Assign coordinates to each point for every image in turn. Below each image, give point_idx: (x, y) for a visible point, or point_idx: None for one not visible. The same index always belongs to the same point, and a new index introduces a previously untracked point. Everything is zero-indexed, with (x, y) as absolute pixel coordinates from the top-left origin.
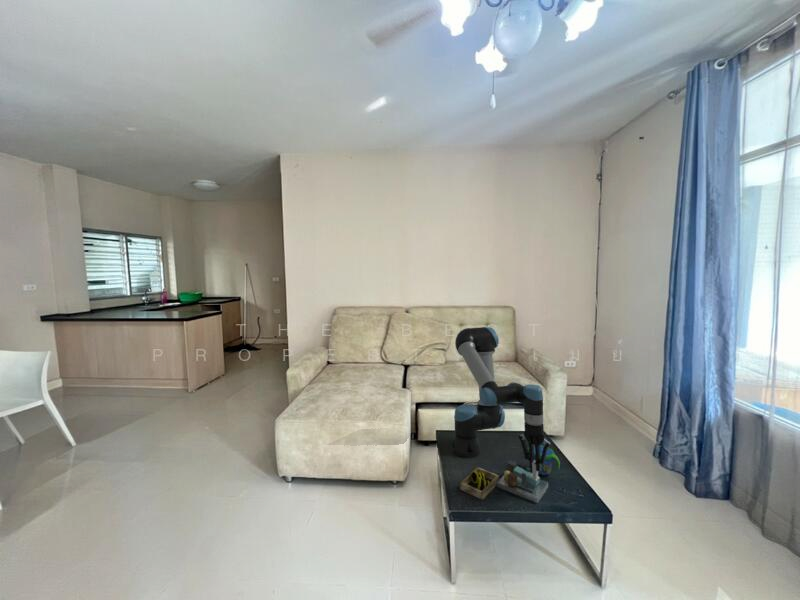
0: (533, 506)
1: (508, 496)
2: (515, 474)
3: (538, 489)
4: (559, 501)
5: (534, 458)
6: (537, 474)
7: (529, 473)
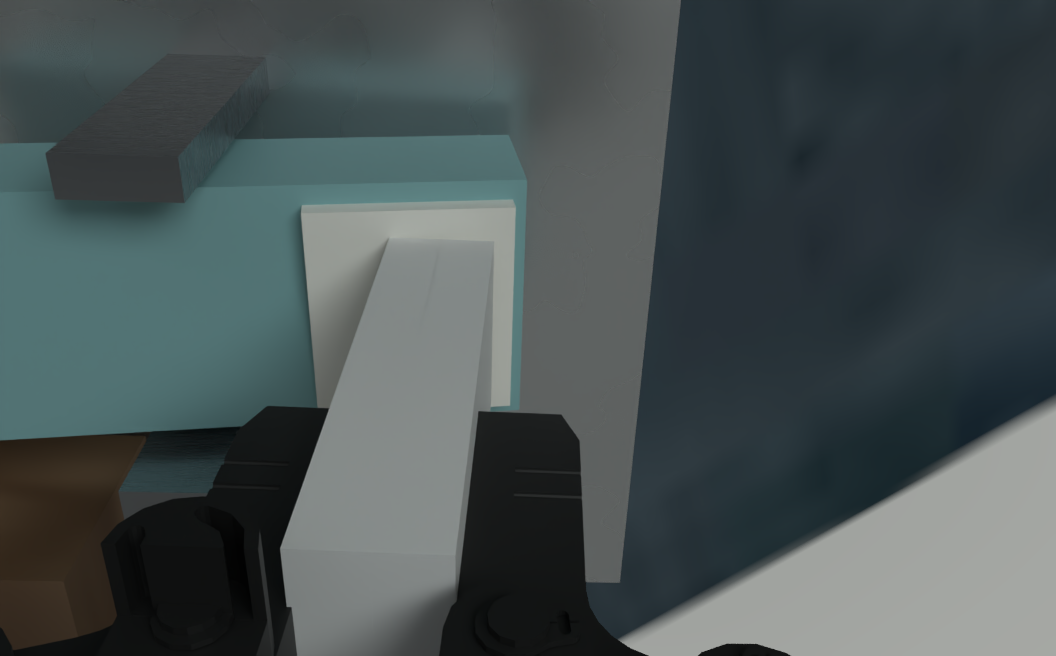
0: None
1: None
2: (33, 599)
3: (561, 336)
4: (945, 269)
5: (258, 573)
6: (488, 332)
7: (239, 244)
